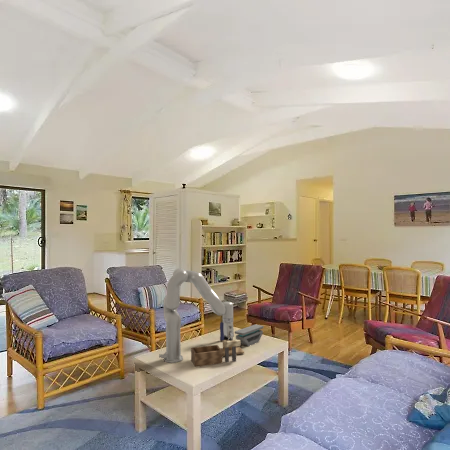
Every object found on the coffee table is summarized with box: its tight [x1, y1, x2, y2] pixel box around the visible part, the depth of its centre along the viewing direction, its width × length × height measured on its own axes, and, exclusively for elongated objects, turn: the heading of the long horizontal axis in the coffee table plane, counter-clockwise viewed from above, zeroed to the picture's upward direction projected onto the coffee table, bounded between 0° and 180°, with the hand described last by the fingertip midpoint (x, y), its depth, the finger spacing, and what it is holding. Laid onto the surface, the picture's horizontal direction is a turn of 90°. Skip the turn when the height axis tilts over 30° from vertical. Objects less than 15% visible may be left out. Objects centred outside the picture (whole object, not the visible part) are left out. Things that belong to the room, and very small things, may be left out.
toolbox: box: [190, 344, 237, 368], centre depth 223 cm, size 28×12×10 cm, turn 107°
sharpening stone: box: [234, 324, 265, 347], centre depth 257 cm, size 25×8×11 cm, turn 137°
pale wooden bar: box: [222, 339, 242, 348], centre depth 222 cm, size 11×3×4 cm, turn 107°
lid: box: [219, 340, 245, 357], centre depth 237 cm, size 18×12×8 cm, turn 107°
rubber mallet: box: [219, 315, 224, 342], centre depth 264 cm, size 12×8×30 cm, turn 131°
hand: (228, 344), depth 239 cm, fingers open, 9 cm apart
